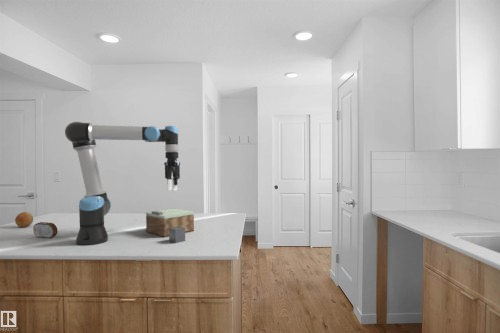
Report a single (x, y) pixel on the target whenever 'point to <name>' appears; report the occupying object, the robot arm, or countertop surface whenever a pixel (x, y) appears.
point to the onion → (24, 219)
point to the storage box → (168, 224)
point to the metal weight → (176, 234)
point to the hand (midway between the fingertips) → (172, 190)
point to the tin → (45, 230)
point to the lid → (169, 213)
